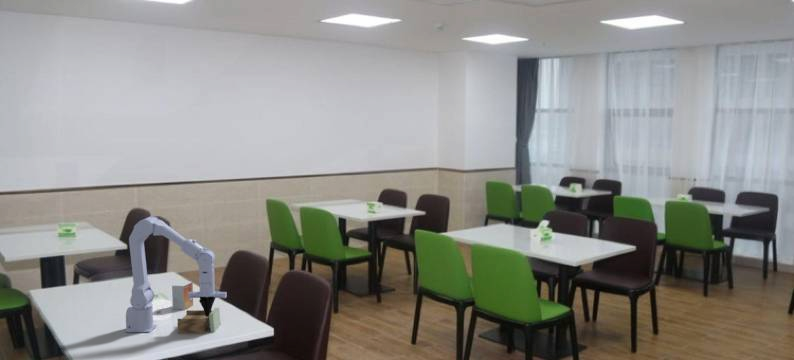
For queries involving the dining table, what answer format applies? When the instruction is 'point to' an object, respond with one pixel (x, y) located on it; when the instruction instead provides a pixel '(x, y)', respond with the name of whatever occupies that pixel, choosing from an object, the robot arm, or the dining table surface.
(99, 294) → the dining table surface
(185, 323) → the walnut box
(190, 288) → the small box
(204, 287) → the robot arm
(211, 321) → the cover plate
